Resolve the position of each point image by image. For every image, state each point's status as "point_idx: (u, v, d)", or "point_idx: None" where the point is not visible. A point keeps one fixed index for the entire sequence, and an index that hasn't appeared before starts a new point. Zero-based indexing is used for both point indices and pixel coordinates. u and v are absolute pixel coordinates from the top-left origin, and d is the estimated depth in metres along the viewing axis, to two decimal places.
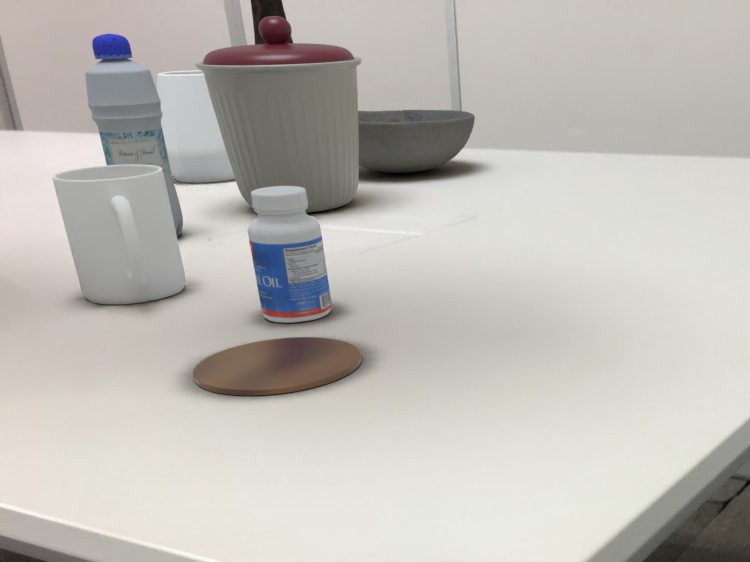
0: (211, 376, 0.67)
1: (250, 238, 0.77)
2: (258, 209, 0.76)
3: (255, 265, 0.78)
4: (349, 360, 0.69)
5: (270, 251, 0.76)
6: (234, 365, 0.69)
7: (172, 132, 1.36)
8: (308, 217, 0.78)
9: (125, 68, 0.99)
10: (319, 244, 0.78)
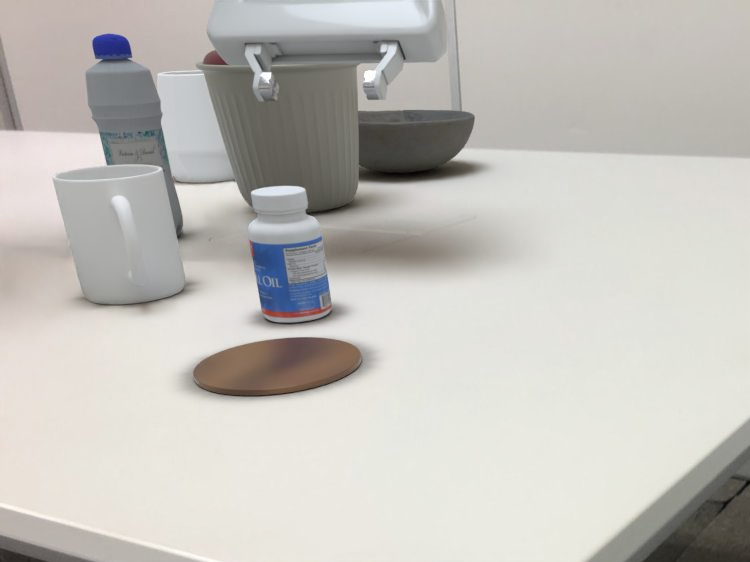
0: (211, 376, 0.67)
1: (250, 238, 0.77)
2: (258, 209, 0.76)
3: (255, 265, 0.78)
4: (349, 360, 0.69)
5: (270, 251, 0.76)
6: (234, 365, 0.69)
7: (172, 132, 1.36)
8: (308, 217, 0.78)
9: (125, 68, 0.99)
10: (319, 244, 0.78)
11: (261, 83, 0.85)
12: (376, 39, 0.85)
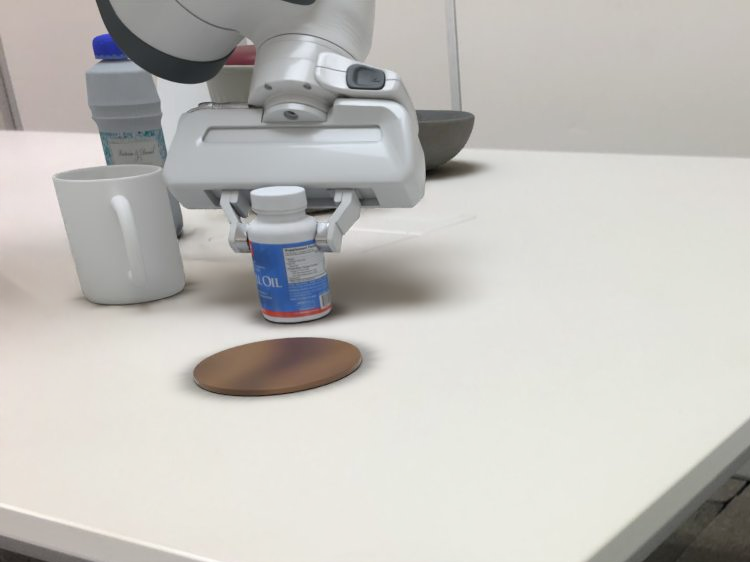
0: (211, 376, 0.67)
1: (250, 238, 0.77)
2: (257, 209, 0.76)
3: (255, 265, 0.78)
4: (349, 360, 0.69)
5: (269, 251, 0.76)
6: (234, 365, 0.69)
7: (172, 132, 1.36)
8: (307, 217, 0.78)
9: (125, 68, 0.99)
10: None
11: (238, 236, 0.78)
12: (347, 187, 0.78)
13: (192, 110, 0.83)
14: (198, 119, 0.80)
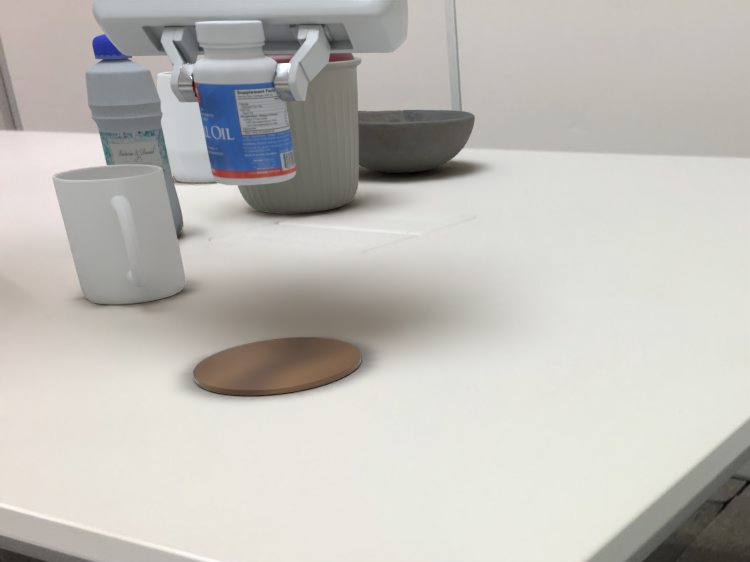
0: (211, 376, 0.67)
1: (195, 79, 0.64)
2: (204, 42, 0.63)
3: (202, 114, 0.65)
4: (349, 360, 0.69)
5: (218, 93, 0.63)
6: (234, 365, 0.69)
7: (172, 132, 1.36)
8: (265, 56, 0.65)
9: (125, 68, 0.99)
10: None
11: (181, 78, 0.65)
12: (313, 22, 0.65)
13: None
14: None
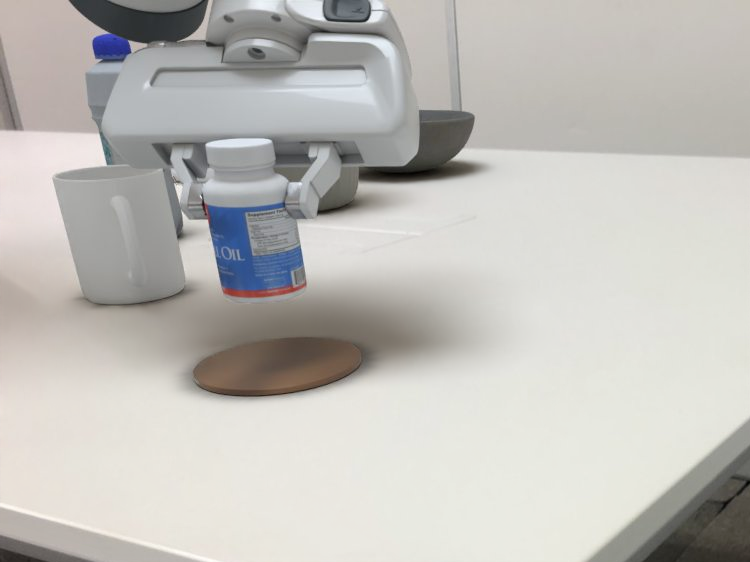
0: (211, 376, 0.67)
1: (205, 200, 0.63)
2: (214, 164, 0.62)
3: (212, 234, 0.64)
4: (349, 360, 0.69)
5: (229, 216, 0.63)
6: (234, 365, 0.69)
7: None
8: (276, 175, 0.64)
9: None
10: None
11: (191, 198, 0.64)
12: (324, 139, 0.65)
13: (140, 50, 0.69)
14: (146, 59, 0.67)
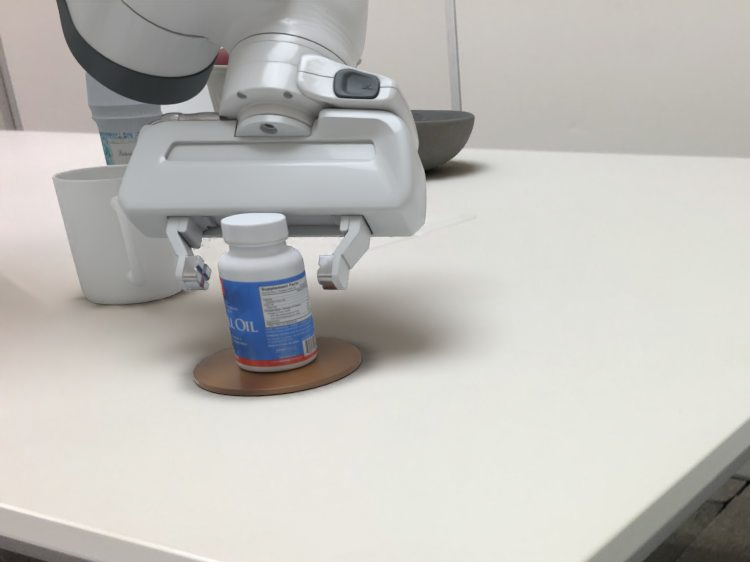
0: (211, 376, 0.67)
1: (220, 274, 0.65)
2: (229, 241, 0.64)
3: (226, 306, 0.66)
4: (349, 360, 0.69)
5: (243, 290, 0.65)
6: (234, 365, 0.69)
7: None
8: (289, 249, 0.66)
9: None
10: (302, 281, 0.67)
11: (186, 271, 0.66)
12: (334, 213, 0.67)
13: (155, 122, 0.71)
14: (161, 133, 0.69)
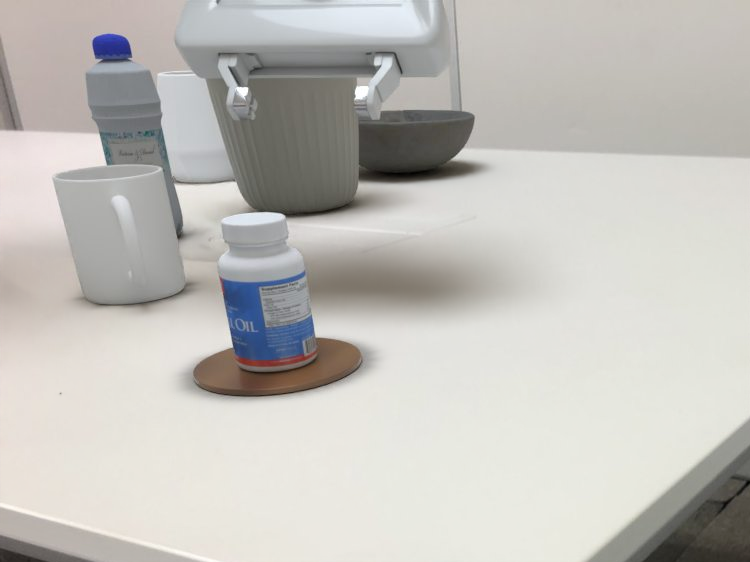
0: (211, 376, 0.67)
1: (220, 274, 0.65)
2: (229, 241, 0.64)
3: (226, 306, 0.66)
4: (349, 360, 0.69)
5: (243, 290, 0.65)
6: (234, 365, 0.69)
7: (172, 132, 1.36)
8: (289, 249, 0.66)
9: (125, 68, 0.99)
10: (302, 281, 0.67)
11: (236, 100, 0.74)
12: (369, 50, 0.74)
13: None
14: None
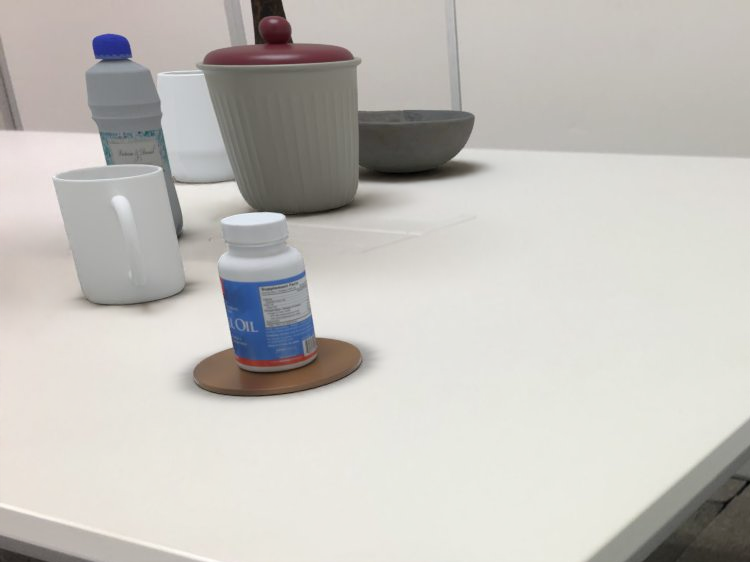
0: (211, 376, 0.67)
1: (220, 274, 0.65)
2: (229, 241, 0.64)
3: (226, 306, 0.66)
4: (349, 360, 0.69)
5: (243, 290, 0.65)
6: (234, 365, 0.69)
7: (172, 132, 1.36)
8: (289, 249, 0.66)
9: (125, 68, 0.99)
10: (302, 281, 0.67)
11: None
12: None
13: None
14: None
